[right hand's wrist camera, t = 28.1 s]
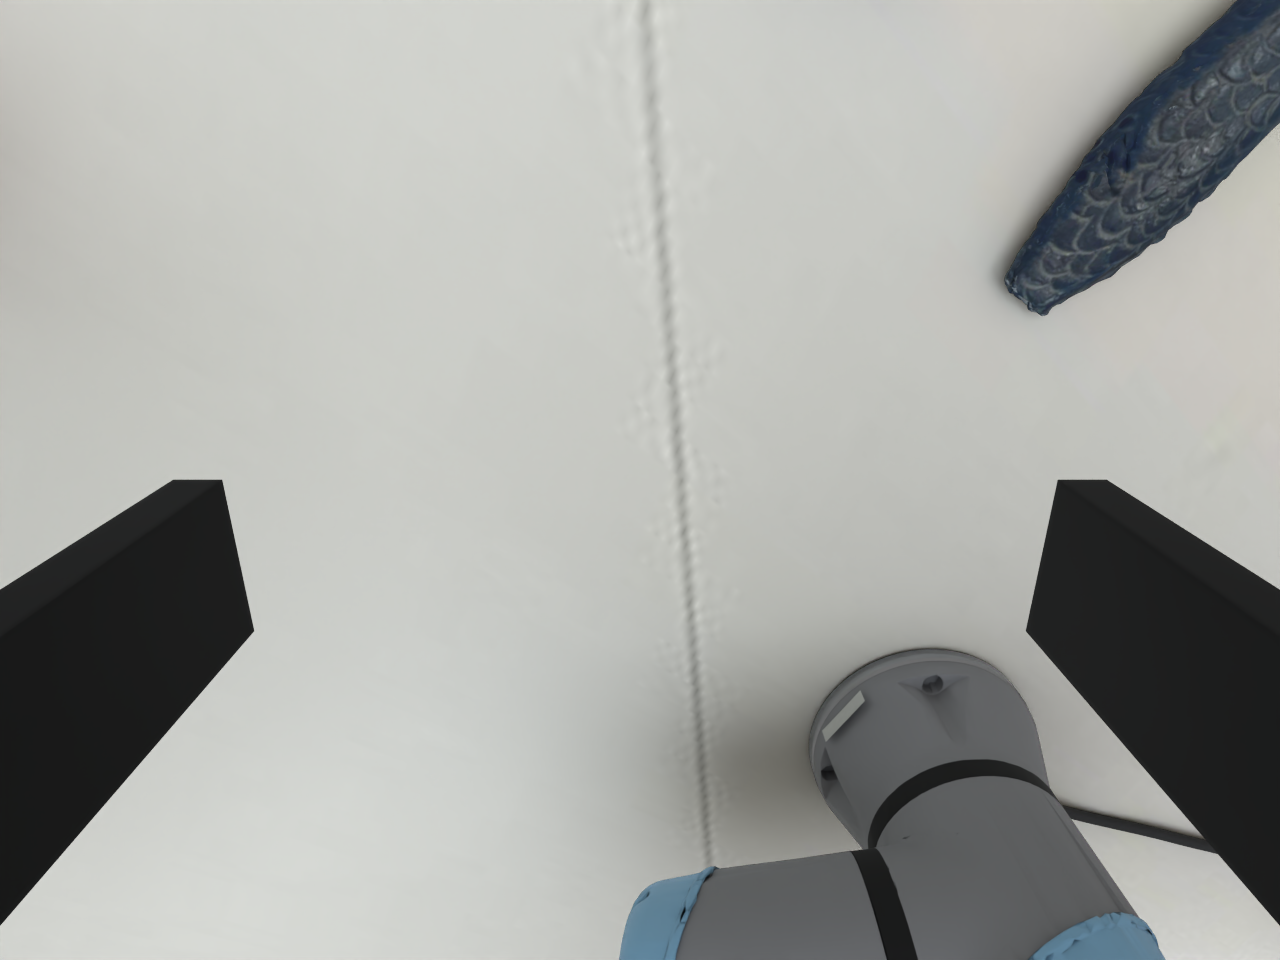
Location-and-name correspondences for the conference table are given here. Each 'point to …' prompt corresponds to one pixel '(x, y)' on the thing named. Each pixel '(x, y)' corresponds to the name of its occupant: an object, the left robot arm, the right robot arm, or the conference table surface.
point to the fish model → (1158, 158)
